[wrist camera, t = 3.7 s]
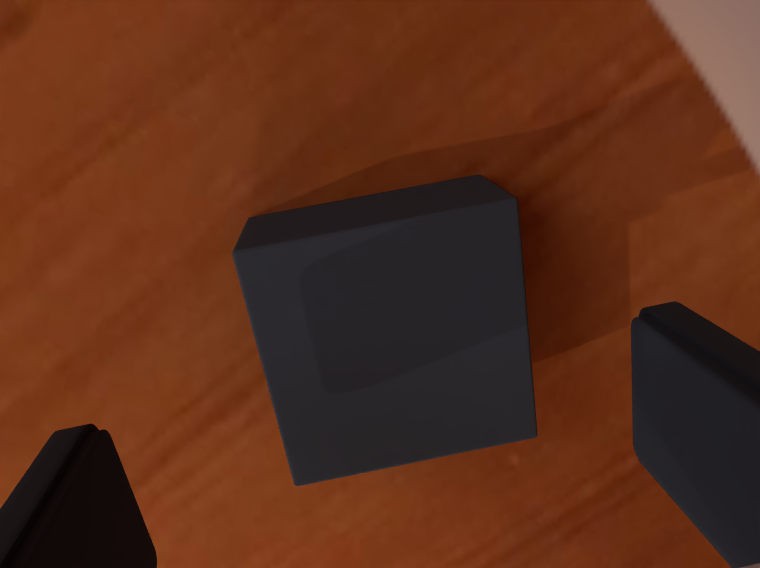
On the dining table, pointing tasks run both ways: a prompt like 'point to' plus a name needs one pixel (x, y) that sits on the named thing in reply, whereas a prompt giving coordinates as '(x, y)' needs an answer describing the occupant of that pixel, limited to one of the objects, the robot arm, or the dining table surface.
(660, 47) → the dining table surface
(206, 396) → the dining table surface
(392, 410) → the small pad
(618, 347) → the dining table surface
